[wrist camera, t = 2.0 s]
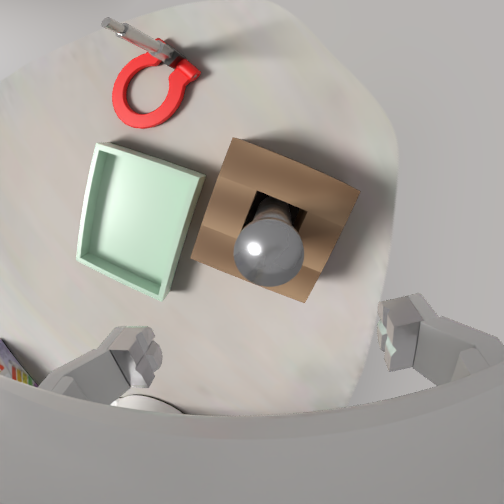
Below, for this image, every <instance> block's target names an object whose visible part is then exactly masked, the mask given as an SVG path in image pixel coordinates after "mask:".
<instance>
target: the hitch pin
mask: <svg viewBox="0 0 504 504" xmlns="http://www.w3.org/2000/svg"><path fill="white" fill-rule="evenodd" d="M234 261H235V264H236V266H237V268H238V270H239V272H240V273H241V274H242V275H243V276H244V277H245V278H246V279H247V280H249V281H250V282H252V283H254V284H256V285H260V286H264V287H274V286H279V285H282V284H285V283H287V282H288V281H290V280H291V279H293V278H294V277H295V276H296V275H297V273H298V272H299V271H300V269H301V267H302V264H303V261H304V247H303V243H302V239H301V237H300V235H299V233H298V232H297V230H296V229H295V228H294V227H293V226H292V221H291V214H290V208H289V206H288V204H287V202H284V201H282V200H279V199H277V198H274V197H272V196H271V197H267V198H265V199H264V200H262V201H261V203H260V204H259V206H258V209H257V211H256V214H255V216H254V219H253V221H252V222H250V223H249V224H248V225H246V226H245V227H244V228H243V229H242V231H241V232H240V234H239V236H238V238H237V240H236V242H235V245H234Z"/></svg>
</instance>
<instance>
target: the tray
mask: <svg viewBox="0 0 504 504" xmlns="http://www.w3.org/2000/svg"><path fill="white" fill-rule="evenodd" d="M205 177H206V175H204V174H201V173H199V172H196V171H193V170H190V169H188V168H185V167H182V166H179V165H176V164H173V163H171V162H168V161H165V160H162V159H159V158H156V157H153V156H150V155H147V154H144V153H141V152H138V151H135V150H132V149H128V148H125V147H122V146H119V145H116V144H113V143H109V142H107V143H96V146H95V150H94V154H93V158H92V163H91V167H90V172H89V176H88V181H87V186H86V191H85V197H84V203H83V209H82V215H81V222H80V229H79V237H78V246H77V257H76V260H77V261H79V262H81V263H83V264H84V265H86V266H88V267H90V268H92V269H94V270H96V271H98V272H100V273H102V274H104V275H106V276H108V277H110V278H112V279H114V280H116V281H118V282H120V283H122V284H124V285H127V286H129V287H131V288H133V289H135V290H137V291H139V292H141V293H144V294H146V295H148V296H150V297H152V298H155V299H157V300H159V301H161V302H162V301H163V300H164V299H165V297H166V296H167V294H168V293H169V292H170V289H171V285H172V282H173V278H174V275H175V271H176V268H177V264H178V261H179V257H180V254H181V251H182V247H183V244H184V241H185V238H186V235H187V231H188V228H189V225H190V222H191V219H192V216H193V213H194V210H195V207H196V204H197V201H198V198H199V195H200V192H201V189H202V186H203V183H204V180H205Z"/></svg>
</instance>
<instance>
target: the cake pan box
mask: <svg viewBox="0 0 504 504" xmlns="http://www.w3.org/2000/svg"><path fill="white" fill-rule="evenodd" d="M0 375H3V376H5V377H8V378H11V379H13V380H16V381H19V382H22V383H25V384H28V385H31V386H34V387H38V385H37V384H36V383H35V382H34V381H33V379H32V378H31V377H30V376H29V375H28V373H27V372H26V371H25V370H24V369H23V367H22V366H21V365H20V364H19V362H18V361H17V360H16V359H15V357H14V356H13V355H12V353H11V352H10V351H9V349H8V348H7V347H6V345H5V344H4V343H3V341H2V340H1V339H0Z"/></svg>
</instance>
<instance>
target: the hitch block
mask: <svg viewBox="0 0 504 504" xmlns="http://www.w3.org/2000/svg"><path fill="white" fill-rule="evenodd" d="M258 191H260V192H262V193H265V194H267V195H270V196H272V197H274V198H277V199H279V200H282V201H284V202H287V203H289V204H291V205H294V206H296V207H298V208H300V209H299V211H298V214H297V216H296V218H295V220H294V223H293V225H292V226H293V227H294V228H295V229H296V230H297V232H298V233H299V235H300V237H301V239H302V243H303V247H304V261H303V264H302V267H301V269H300V271H299V272H298V273H297V275H296V276H295V277H294V278H293V279H291V280H290V281H288V282H287V283H285V284H282V285H279V286H274V287H264V286H261V287H263V288H266V289H269V290H271V291H274V292H276V293H279V294H282V295H284V296H287V297H289V298H292V299H295V300H297V301H300V302H303V303H305V302H306V300H307V298H308V296H309V294H310V292H311V291H312V289H313V287H314V285H315V283H316V281H317V279H318V277H319V276H320V274H321V272H322V270H323V268H324V266H325V264H326V262H327V260H328V258H329V256H330V254H331V252H332V250H333V248H334V246H335V244H336V242H337V240H338V238H339V236H340V234H341V232H342V230H343V228H344V226H345V224H346V222H347V220H348V217H349V215H350V213H351V211H352V209H353V207H354V205H355V202H356V200H357V198H358V196H359V194H360V191H359V190H357V189H355V188H353V187H352V186H350V185H348V184H346V183H344V182H342V181H340V180H338V179H335V178H333V177H331V176H329V175H327V174H325V173H322V172H320V171H318V170H316V169H313V168H311V167H309V166H307V165H304V164H302V163H300V162H297V161H295V160H293V159H290V158H288V157H285V156H283V155H280V154H278V153H276V152H273V151H270V150H268V149H265V148H263V147H260V146H258V145H255V144H252V143H250V142H247V141H244V140H241V139H238V138H234V137H233V138H232V141H231V144H230V146H229V149H228V151H227V154H226V157H225V159H224V162H223V165H222V167H221V170H220V173H219V175H218V178H217V181H216V184H215V186H214V189H213V192H212V195H211V198H210V200H209V203H208V206H207V209H206V212H205V215H204V218H203V221H202V224H201V227H200V230H199V233H198V236H197V239H196V242H195V245H194V248H193V251H192V254H191V257H190V258H191V259H193V260H196V261H198V262H201V263H203V264H206V265H208V266H210V267H213V268H215V269H218V270H220V271H223V272H225V273H228V274H230V275H233V276H235V277H238V278H240V279H243V280H246V281H248V282H250V281H249V280H247V279H246V278H245V277H244V276H243V275H242V274H241V273H240V272H239V270H238V268H237V266H236V264H235V261H234V245H235V242H236V240H237V238H238V236H239V234H240V232H241V231H242V229H243V228H244V227H245V226H246V224H245V222H246V220H247V217H248V215H249V212H250V210H251V207H252V205H253V202H254V200H255V197H256V195H257V192H258ZM251 283H252V282H251ZM253 284H254V283H253ZM258 286H260V285H258Z"/></svg>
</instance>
